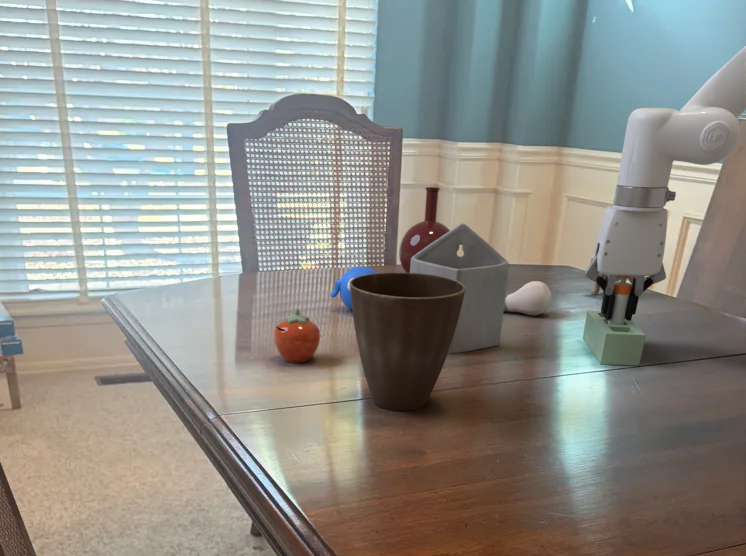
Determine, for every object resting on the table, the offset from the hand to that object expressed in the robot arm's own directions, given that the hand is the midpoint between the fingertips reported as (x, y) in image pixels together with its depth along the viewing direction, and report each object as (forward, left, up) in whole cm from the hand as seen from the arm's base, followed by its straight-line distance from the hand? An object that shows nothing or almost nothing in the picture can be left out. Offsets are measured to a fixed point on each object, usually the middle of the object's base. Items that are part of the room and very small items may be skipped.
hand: (616, 317), depth 129 cm
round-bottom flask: (+31, -53, -6) cm, 62 cm away
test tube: (0, 0, -5) cm, 5 cm away
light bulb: (+12, -25, -6) cm, 28 cm away
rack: (0, 0, -6) cm, 6 cm away
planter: (+27, +2, -6) cm, 28 cm away
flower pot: (+35, +31, -6) cm, 47 cm away
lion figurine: (-10, -46, -6) cm, 47 cm away
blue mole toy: (+44, -20, -6) cm, 49 cm away
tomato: (+52, +13, -6) cm, 54 cm away
